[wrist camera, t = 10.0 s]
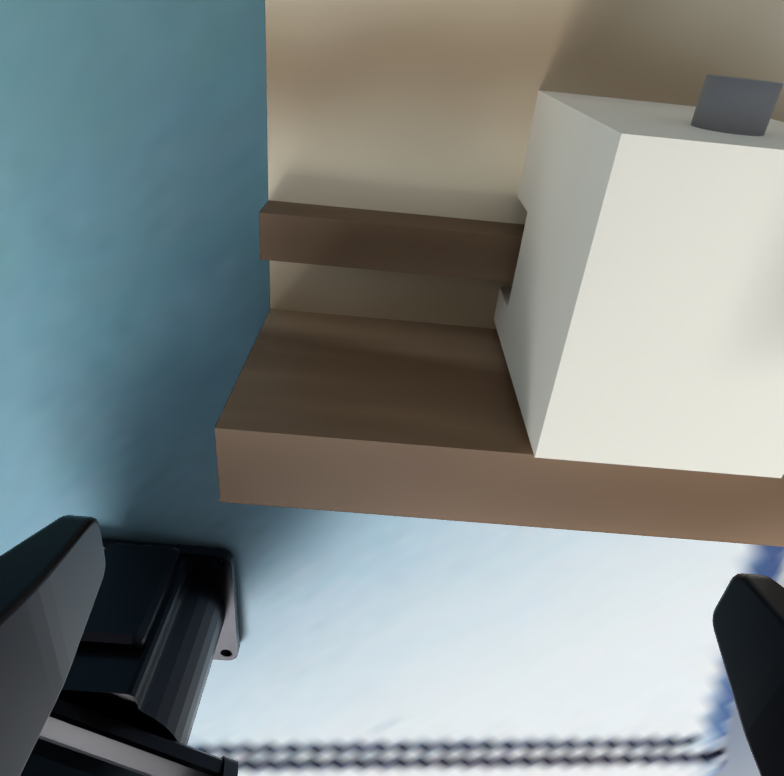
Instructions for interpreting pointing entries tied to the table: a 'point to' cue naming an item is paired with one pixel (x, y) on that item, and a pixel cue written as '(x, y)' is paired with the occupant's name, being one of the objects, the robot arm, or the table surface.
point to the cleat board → (449, 259)
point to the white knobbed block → (652, 281)
